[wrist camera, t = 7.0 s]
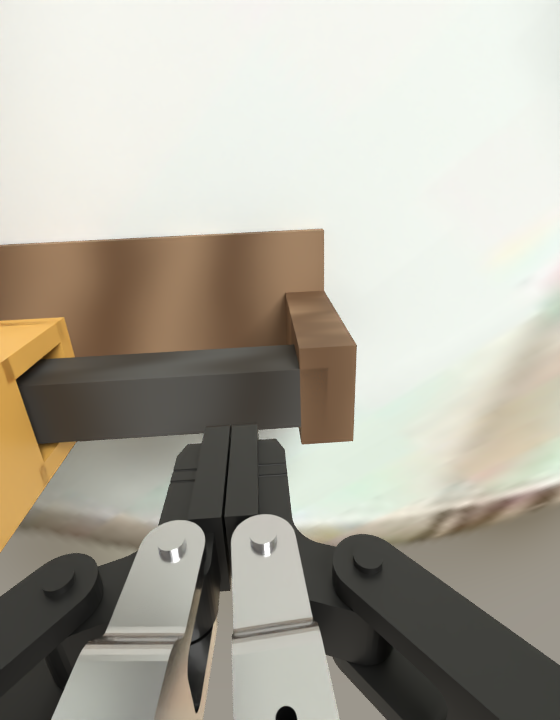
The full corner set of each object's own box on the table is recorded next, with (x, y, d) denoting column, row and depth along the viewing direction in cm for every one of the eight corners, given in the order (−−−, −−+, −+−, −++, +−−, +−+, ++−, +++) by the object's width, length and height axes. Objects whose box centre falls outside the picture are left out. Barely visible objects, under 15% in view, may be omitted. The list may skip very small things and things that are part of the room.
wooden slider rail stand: (322, 228, 20) (368, 264, 12) (322, 402, 24) (356, 520, 16) (-134, 251, 20) (-429, 306, 11) (-56, 426, 24) (-229, 562, 15)
